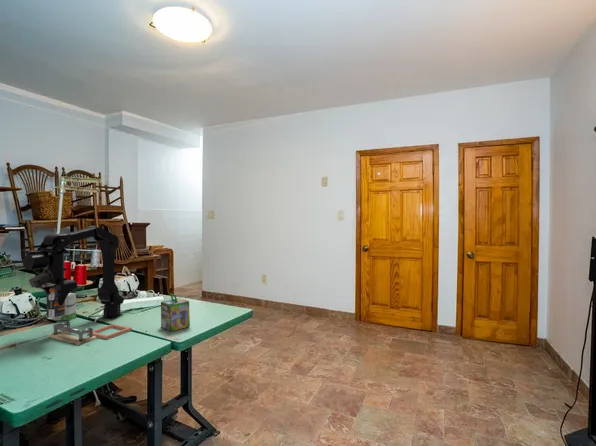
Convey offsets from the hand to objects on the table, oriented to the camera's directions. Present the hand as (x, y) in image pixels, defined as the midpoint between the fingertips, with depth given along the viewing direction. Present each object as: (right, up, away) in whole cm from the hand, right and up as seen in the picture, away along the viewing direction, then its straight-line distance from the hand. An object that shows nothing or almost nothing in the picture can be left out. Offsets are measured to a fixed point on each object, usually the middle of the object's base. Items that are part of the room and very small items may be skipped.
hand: (55, 304), depth 132 cm
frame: (+19, -13, +5) cm, 24 cm away
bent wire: (+8, -13, 0) cm, 15 cm away
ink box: (-12, -13, +22) cm, 29 cm away
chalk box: (+43, -13, +12) cm, 47 cm away
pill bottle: (0, -5, 0) cm, 5 cm away
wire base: (+8, -13, 0) cm, 15 cm away
